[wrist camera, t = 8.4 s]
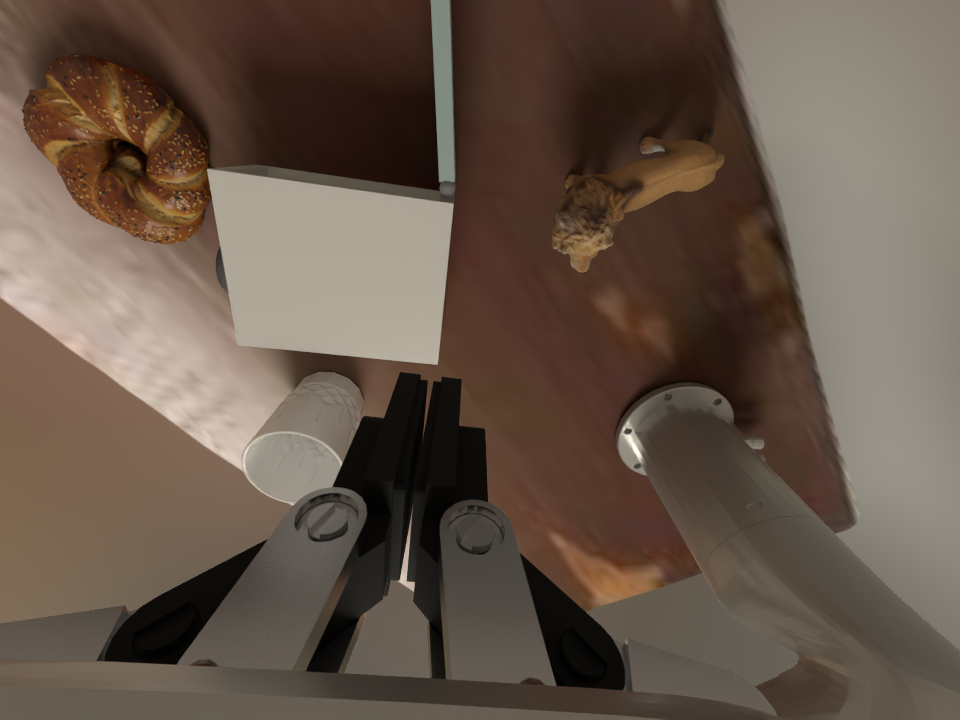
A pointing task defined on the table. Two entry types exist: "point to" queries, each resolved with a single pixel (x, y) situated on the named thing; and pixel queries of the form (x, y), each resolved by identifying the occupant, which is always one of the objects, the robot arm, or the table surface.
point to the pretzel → (121, 147)
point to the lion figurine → (628, 193)
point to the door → (444, 93)
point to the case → (332, 262)
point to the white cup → (305, 438)
